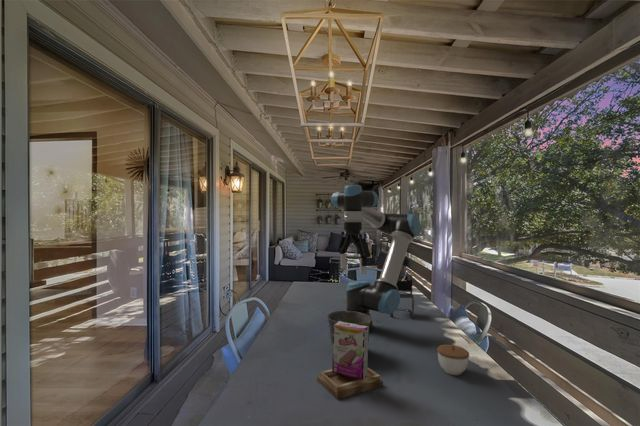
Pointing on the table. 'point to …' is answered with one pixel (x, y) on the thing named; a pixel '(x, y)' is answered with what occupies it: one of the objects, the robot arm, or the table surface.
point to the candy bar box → (350, 349)
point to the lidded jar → (453, 359)
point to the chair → (406, 287)
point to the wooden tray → (348, 383)
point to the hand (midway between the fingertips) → (352, 271)
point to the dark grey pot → (347, 319)
